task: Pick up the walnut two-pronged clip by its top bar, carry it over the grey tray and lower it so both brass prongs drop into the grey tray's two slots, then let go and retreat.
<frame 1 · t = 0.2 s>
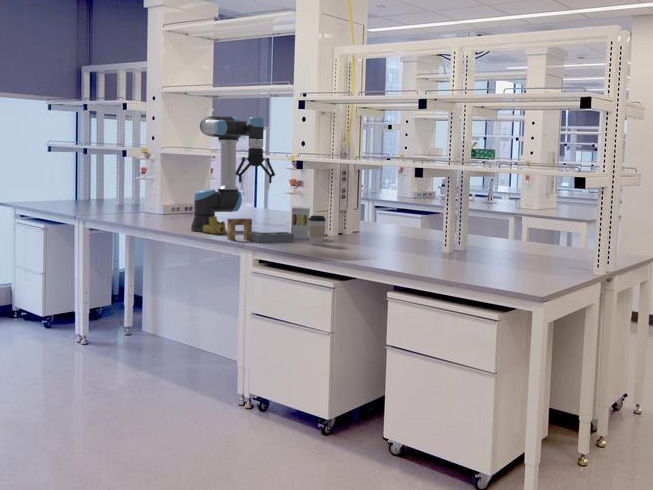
hand: (255, 189, 374), 27 cm above the table, fingers open, 13 cm apart
clip: (239, 239, 381), on the table
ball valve: (216, 234, 404), on the table
grey tray: (272, 241, 380), on the table
coffee cup: (316, 244, 373), on the table
supplement box: (299, 238, 397), on the table
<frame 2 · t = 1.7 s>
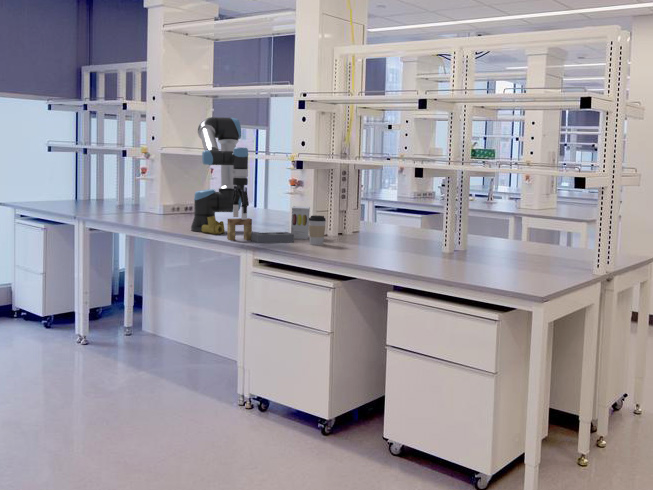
hand: (239, 218, 379), 11 cm above the table, fingers open, 13 cm apart
nothing on the table moved.
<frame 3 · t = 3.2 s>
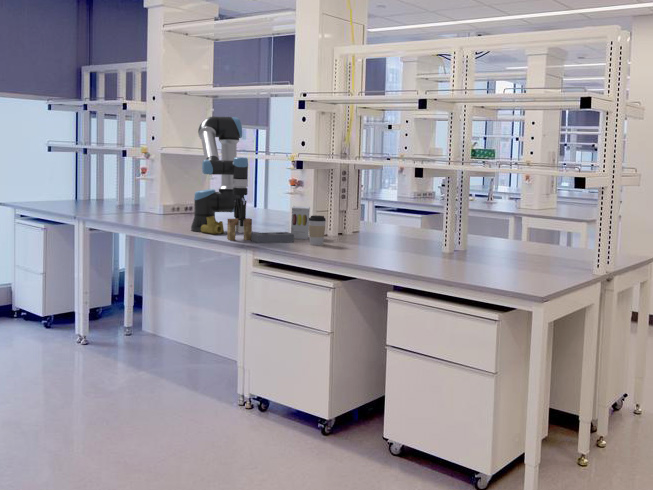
hand: (239, 231, 381), 4 cm above the table, fingers closed on clip, 4 cm apart
clip: (239, 239, 381), on the table, touching gripper
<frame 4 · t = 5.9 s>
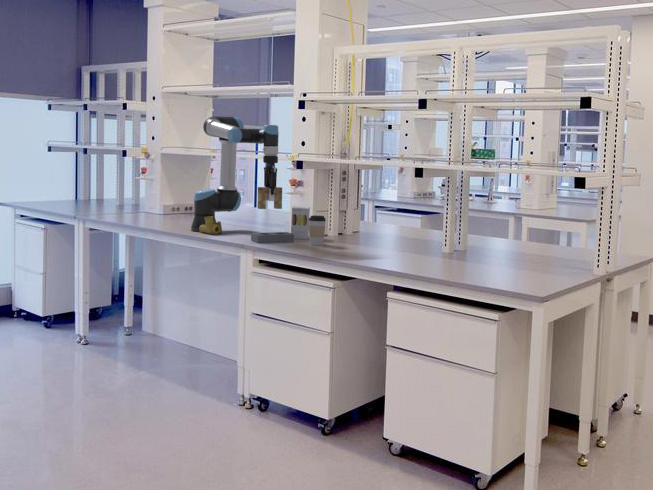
hand: (269, 200, 377), 21 cm above the table, fingers closed on clip, 4 cm apart
clip: (269, 208, 377), point 17 cm above the table, touching gripper
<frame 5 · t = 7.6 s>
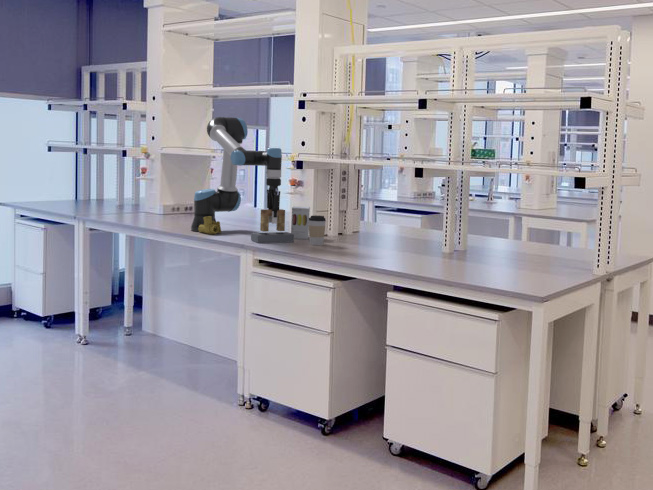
hand: (272, 222, 378), 10 cm above the table, fingers closed on clip, 4 cm apart
clip: (272, 230, 379), point 5 cm above the table, touching gripper
when the fingers open (6 cm above the table, at t = 8.9 s): clip drops 1 cm, on the table.
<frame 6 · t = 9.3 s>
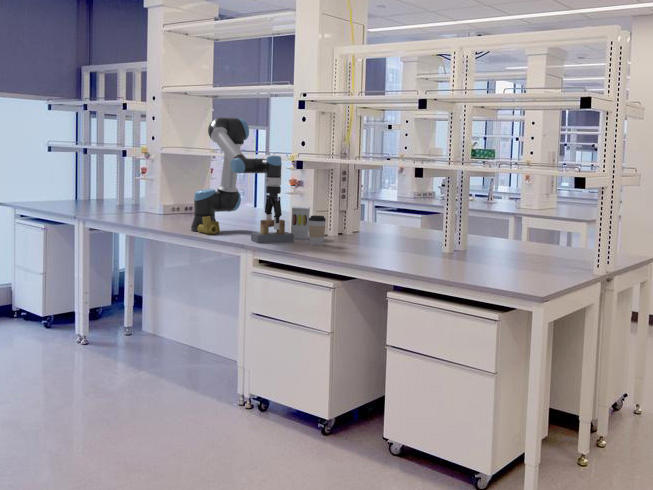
hand: (272, 228, 379), 7 cm above the table, fingers open, 10 cm apart
clip: (272, 241, 380), on the table
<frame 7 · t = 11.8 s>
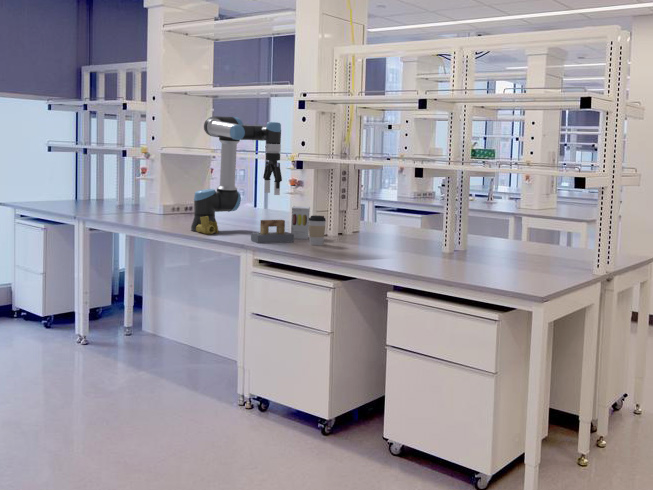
hand: (272, 193, 377), 25 cm above the table, fingers open, 13 cm apart
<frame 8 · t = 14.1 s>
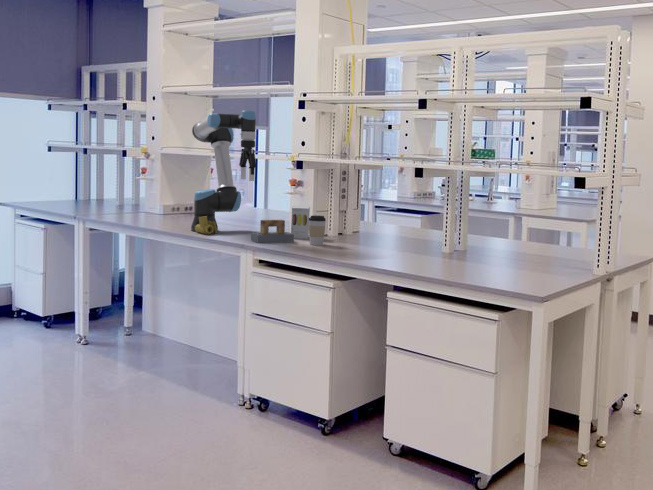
hand: (247, 180, 388), 31 cm above the table, fingers open, 13 cm apart
at the end: clip 0.0 cm off-centre on the grey tray, point 0.0 cm above the grey tray's base; clip tilted 0°; the gripper is holding nothing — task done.
